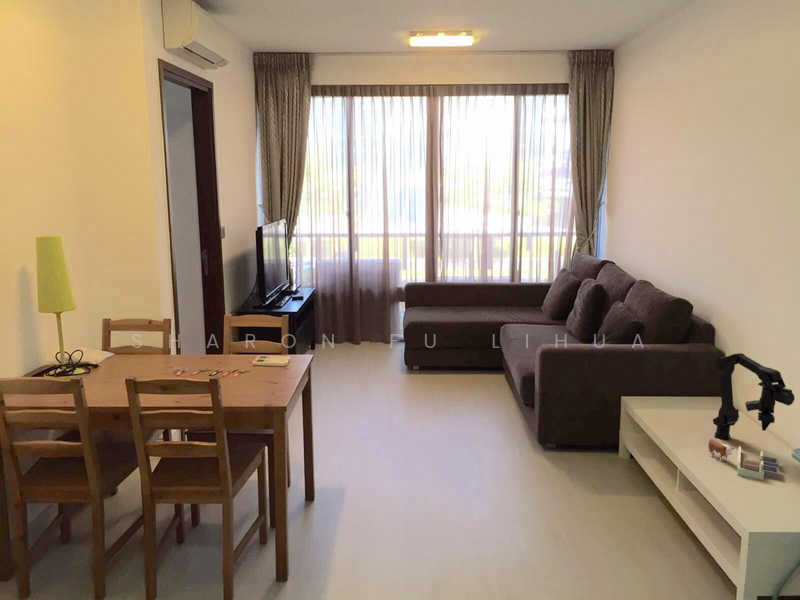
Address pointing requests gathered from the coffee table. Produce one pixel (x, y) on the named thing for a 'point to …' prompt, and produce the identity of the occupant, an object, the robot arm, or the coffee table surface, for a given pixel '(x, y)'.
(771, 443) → the coffee table surface
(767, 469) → the trap pen
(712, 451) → the bull figurine
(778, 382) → the robot arm
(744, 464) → the walnut block
